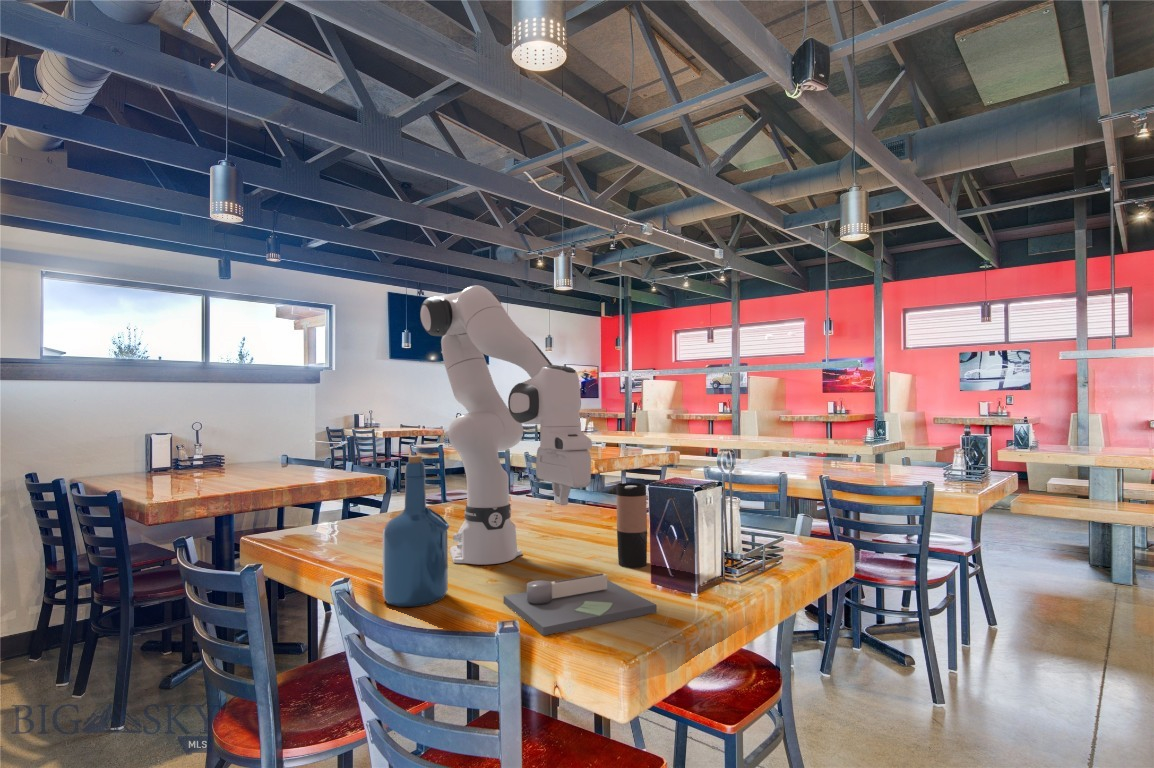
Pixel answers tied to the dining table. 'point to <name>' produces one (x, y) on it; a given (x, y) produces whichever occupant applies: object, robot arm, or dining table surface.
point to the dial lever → (564, 587)
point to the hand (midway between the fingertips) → (561, 504)
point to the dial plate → (580, 609)
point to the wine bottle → (415, 547)
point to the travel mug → (632, 525)
